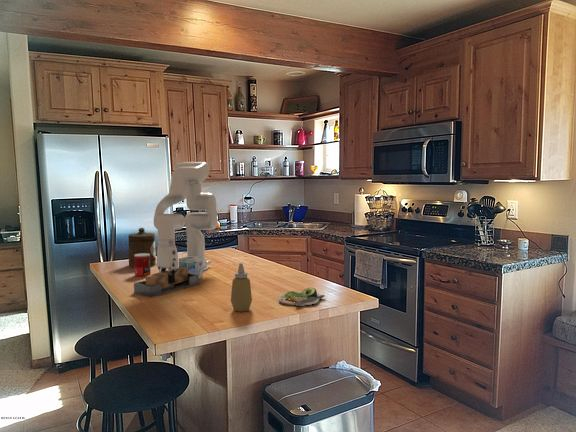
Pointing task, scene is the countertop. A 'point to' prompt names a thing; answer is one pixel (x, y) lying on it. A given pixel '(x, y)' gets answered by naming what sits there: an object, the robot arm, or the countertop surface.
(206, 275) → the countertop surface
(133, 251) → the wooden container
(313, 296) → the salad plate
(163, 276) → the rail
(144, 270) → the canned food
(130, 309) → the countertop surface
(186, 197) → the robot arm
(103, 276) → the countertop surface
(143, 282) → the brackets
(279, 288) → the countertop surface
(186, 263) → the light bulb box
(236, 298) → the squeeze bottle
